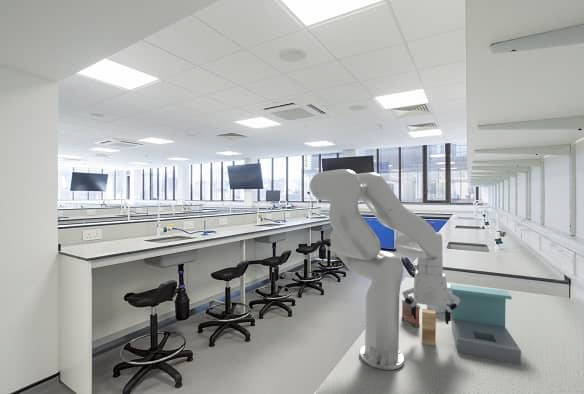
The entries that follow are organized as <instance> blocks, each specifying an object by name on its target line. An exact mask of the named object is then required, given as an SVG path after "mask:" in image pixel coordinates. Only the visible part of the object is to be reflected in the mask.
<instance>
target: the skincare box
mask: <svg viewBox="0 0 584 394" xmlns="http://www.w3.org/2000/svg"><path fill="white" fill-rule="evenodd" d="M451 285H452V284H451V283H448V282H447V291H448V292H450V293H451V294H452V290H451ZM448 304H449V305H450V304H452V299H451V298H449V297H448ZM426 309H428V310H435V312H436V313H437V314H439V313H440V314H441V313H445V307H441V306H433V305H426Z"/></svg>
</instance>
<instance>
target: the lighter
mask: <svg viewBox="0 0 584 394" xmlns="http://www.w3.org/2000/svg"><path fill="white" fill-rule="evenodd" d="M408 297H409V298H410V299H411V300H413V299H414V296H413V295H412V296H411V295H410V296H409V295H408ZM401 304H402V305H401V321H402V322H404V323H405V324H407V325H409V326H411V327H413V328H420V327H421V323H420V309H421V306H420V305H419V304H418V303H417V304H416V319H414V316H412V315H411V306H410V304H409V303H408V302H407V301H406V299H405V298H404V299H402V300H401Z"/></svg>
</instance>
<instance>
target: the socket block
mask: <svg viewBox="0 0 584 394" xmlns="http://www.w3.org/2000/svg"><path fill="white" fill-rule="evenodd" d="M451 290H452V294H453V295H455V296H457V297H459V298H460V302H459V304H458V305H457V307H456V308H455V309H454V310H452V312H451V330H452V335H453V340H454V344H455V349H456V352H458V353H464V354H466V355H467V354H468V355H473V356H476V357H477V356H478V357H482V358H487V359H491V360H492V359H493V360H497V361H502V362H507V363H512V364H517V365H522V364H521V363H522V362H521V361H522V359H521V358H522V350H521V349H520V347H519V346H518V344H517V343H516V341H515V339H514V338H513V337H512V335H511V333H510V331H509V330H508V329H507V327H506V300H512V295H511V294H510V293H509V291H506V290H500V289H492V288H483V287H474V286H465V285H460V284H459V285H457V284H451ZM453 302H454V300H453V299H452V303H453Z"/></svg>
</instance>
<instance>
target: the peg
mask: <svg viewBox="0 0 584 394" xmlns="http://www.w3.org/2000/svg"><path fill="white" fill-rule="evenodd" d="M421 310H422V311H421V316H422V317H421V344H424V345H429V346H435V347H436V342H437V341H436V335H437V334H436V332H437V330H436V329H437V315H436V313H437V312H435V310H431V309H429V308H422V309H421Z"/></svg>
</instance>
